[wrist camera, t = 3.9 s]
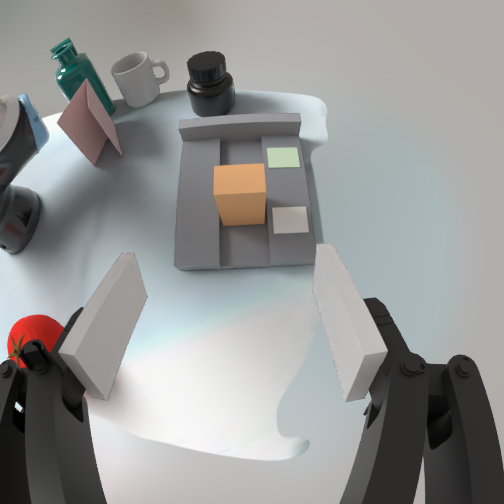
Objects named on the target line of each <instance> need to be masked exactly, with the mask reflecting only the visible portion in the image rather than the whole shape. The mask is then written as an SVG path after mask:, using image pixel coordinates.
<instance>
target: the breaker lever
mask: <svg viewBox="0 0 504 504" xmlns="http://www.w3.org/2000/svg"><path fill="white" fill-rule="evenodd" d="M213 195H214V198H215V201H216V205H217V208H218V211H219V214H220V217H221V220H222V223H223V226H236V225H257V224H264V219H265V202H266V184H265V171H264V163H260V164H239V165H224V166H214V193H213Z"/></svg>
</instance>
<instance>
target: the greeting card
mask: <svg viewBox="0 0 504 504" xmlns="http://www.w3.org/2000/svg"><path fill="white" fill-rule="evenodd" d="M57 124H58V125H59V126H60V127H61V128H62V130H63V131H64V132H65V133H66V134H67V136H68V137H69V138H70V139H71V140H72V141H73V143H74V144H75V145H76V146H77V147H78V148H79V150H80V151H81V152H82V153H83V154H84V155H85V156H86V158H87V159H88V160H89V161H90V162H91V163H92V164H93V166H95V164H96V162H97V159H98V157H99V155H100V153H101V150H102V148H103V146H104V144H105V142H106V140H107V138H108V137H109V139H110V140H111V142H112V143H113V145H114V146H115V147H116V149H117V150H118V152H119V153H120V154H121V156H122V153H121V149H120V145H119V141H118V137H117V133H116V129H115V125H114V123H113V121H112V119H111V118H110V116H109V115H108V113H107V111H106V110H105V108H104V106H103V105H102V103H101V101H100V100H99V98H98V96H97V95H96V93H95V91H94V90H93V88H92V86H91V85H90V83H89V81H88V80H87V78H86V79H85V81H84V82H83V84H82V85H81V86H80V88H79V89H78V91H77V92H76V93H75V95H74V96H73V98H72V99H71V101H70V102H69V104H68V105H67V107H66V109H65V110H64V112H63V113H62V115H61V117H60V118H59V120H58V122H57ZM122 157H123V156H122Z"/></svg>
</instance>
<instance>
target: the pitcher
mask: <svg viewBox="0 0 504 504" xmlns="http://www.w3.org/2000/svg"><path fill="white" fill-rule="evenodd" d="M51 52H52V53H53V55H52V56H51V60H55V59H56V60H57V62H58V64H59V66H60V67H59V68H58V69H57V71H56V73H55V77H56V84H57V86H58V87H59V89H60V90H61V92H62V93H63V95H64V96H65V98H66V99H67V100H68V102H70V101H71V99H72V98H73V96H74V95H75V93H76V92H77V91H78V89H79V88H80V86H81V85H82V84H83V82H84V81H85V79H86V78H87V80H88V81H89V83H90V85H91V86H92V88H93V90H94V91H95V93H96V95H97V96H98V98H99V100H100V101H101V103H102V105H103V106H104V108H105V110H106V111H107V113H108V115H110V114H111V113H112V112H113V111H114V109H115V104H114V102H113V101H112V99H111V97H110V95H109V93H108V92H107V90H106V88H105V86H104V85H103V83H102V81H101V79H100V77H99V75H98V73H97V72H96V69H95V68H94V66H93V64H92V62H91V60H90V58H89V56H88V55H87V54H86V53H80V54H78V53H77V51H76V49H75V47H74V46H73V43H72V42H71V40H70V38H69V37H68V38H67V39H65V40H64V41H62V42H61V43H59V44H58V45H57V46H55V47H54V48H52V49H51Z"/></svg>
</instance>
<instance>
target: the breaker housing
mask: <svg viewBox="0 0 504 504" xmlns="http://www.w3.org/2000/svg"><path fill="white" fill-rule="evenodd" d="M300 126H301V117H300V113H262V114H239V115H225V116H213V117H203V118H194V119H186V120H180V123H179V131H180V134H181V137H182V139H183V147H182V156H181V166H180V176H179V187H178V200H177V215H176V233H175V259H174V266H175V267H176V268H177V269H179V270H205V269H229V268H252V267H272V266H292V265H310V264H313V263H314V262H315V259H316V247H315V238H314V230H313V222H312V214H311V207H310V200H309V193H308V186H307V180H306V173H305V167H304V161H303V155H302V149H301V144H300V138H299V132H300ZM260 163H264V171H265V184H266V202H265V219H264V224H257V225H236V226H223V223H222V220H221V217H220V214H219V211H218V208H217V205H216V201H215V198H214V195H213V193H214V166H224V165H239V164H260Z"/></svg>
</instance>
